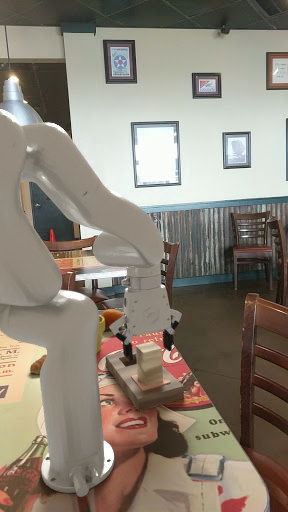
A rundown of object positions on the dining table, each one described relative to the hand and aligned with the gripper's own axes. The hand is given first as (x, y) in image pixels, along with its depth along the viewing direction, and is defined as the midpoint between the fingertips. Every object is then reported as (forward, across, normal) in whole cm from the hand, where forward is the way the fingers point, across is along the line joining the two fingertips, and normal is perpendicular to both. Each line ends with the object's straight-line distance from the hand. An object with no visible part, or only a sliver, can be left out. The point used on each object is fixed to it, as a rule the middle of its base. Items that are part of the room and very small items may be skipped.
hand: (148, 353), depth 87 cm
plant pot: (+10, -7, +30) cm, 32 cm away
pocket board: (+10, 0, +6) cm, 11 cm away
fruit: (+10, +5, +44) cm, 45 cm away
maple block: (+6, 0, 0) cm, 6 cm away
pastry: (+10, -20, +25) cm, 34 cm away
